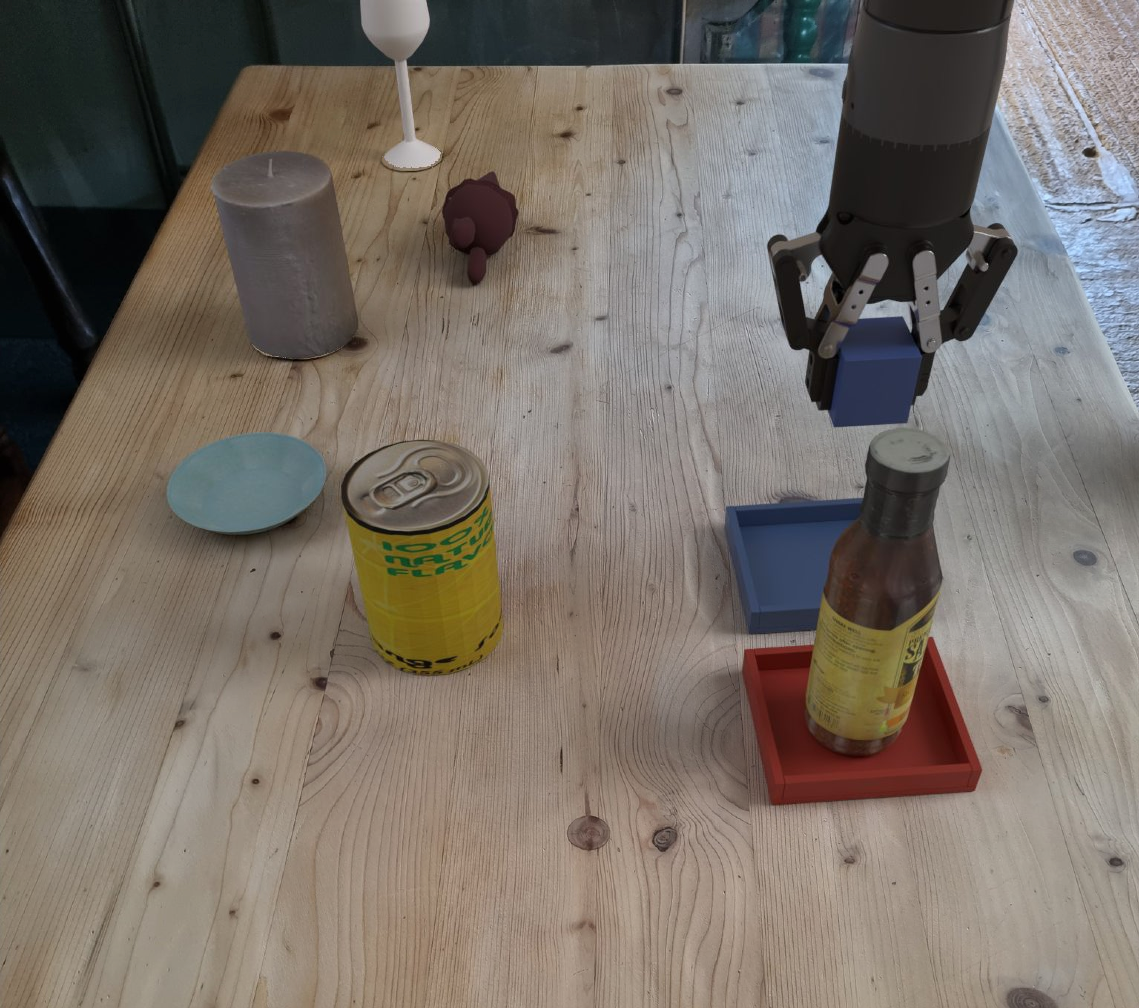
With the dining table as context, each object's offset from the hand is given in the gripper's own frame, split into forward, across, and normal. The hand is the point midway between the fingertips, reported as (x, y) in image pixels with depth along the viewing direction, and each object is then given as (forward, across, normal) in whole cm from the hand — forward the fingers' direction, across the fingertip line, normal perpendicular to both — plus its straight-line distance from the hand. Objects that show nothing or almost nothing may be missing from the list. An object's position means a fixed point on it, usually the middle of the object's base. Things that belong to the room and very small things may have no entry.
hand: (863, 399), depth 74 cm
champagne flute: (+14, -30, +70) cm, 78 cm away
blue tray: (+14, -1, 0) cm, 14 cm away
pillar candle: (+14, -40, +36) cm, 55 cm away
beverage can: (+14, -28, -3) cm, 31 cm away
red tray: (+14, -2, -14) cm, 20 cm away
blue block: (0, 0, 0) cm, 0 cm away
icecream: (+14, -24, +49) cm, 56 cm away
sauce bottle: (+14, -2, -14) cm, 20 cm away
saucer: (+14, -42, +12) cm, 46 cm away
